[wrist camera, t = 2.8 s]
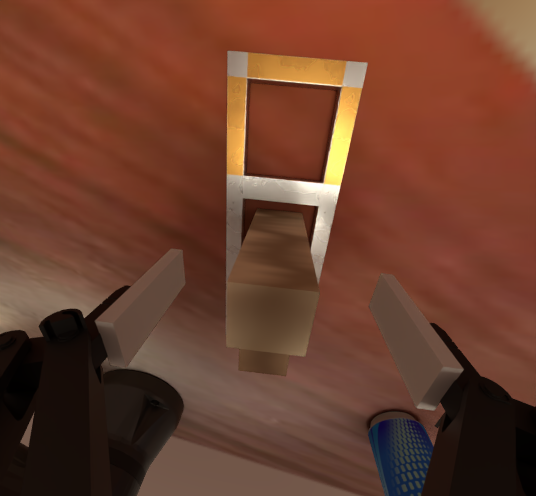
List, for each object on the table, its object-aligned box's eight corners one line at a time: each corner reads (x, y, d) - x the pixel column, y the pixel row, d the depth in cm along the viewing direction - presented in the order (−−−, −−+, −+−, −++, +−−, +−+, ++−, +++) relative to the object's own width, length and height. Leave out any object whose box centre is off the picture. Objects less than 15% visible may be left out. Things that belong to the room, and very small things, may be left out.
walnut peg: (250, 312, 29) (238, 370, 21) (252, 282, 27) (239, 335, 19) (285, 316, 28) (285, 376, 21) (290, 286, 26) (292, 342, 19)
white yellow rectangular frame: (228, 325, 30) (225, 335, 28) (232, 57, 18) (227, 49, 16) (304, 335, 30) (305, 345, 28) (361, 69, 17) (368, 62, 16)
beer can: (364, 437, 39) (411, 613, 24) (366, 408, 35) (422, 593, 21) (416, 438, 38) (497, 621, 23) (424, 407, 34) (524, 602, 20)
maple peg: (254, 248, 25) (226, 347, 13) (257, 208, 23) (226, 281, 11) (295, 252, 24) (304, 356, 13) (302, 212, 23) (319, 292, 11)
